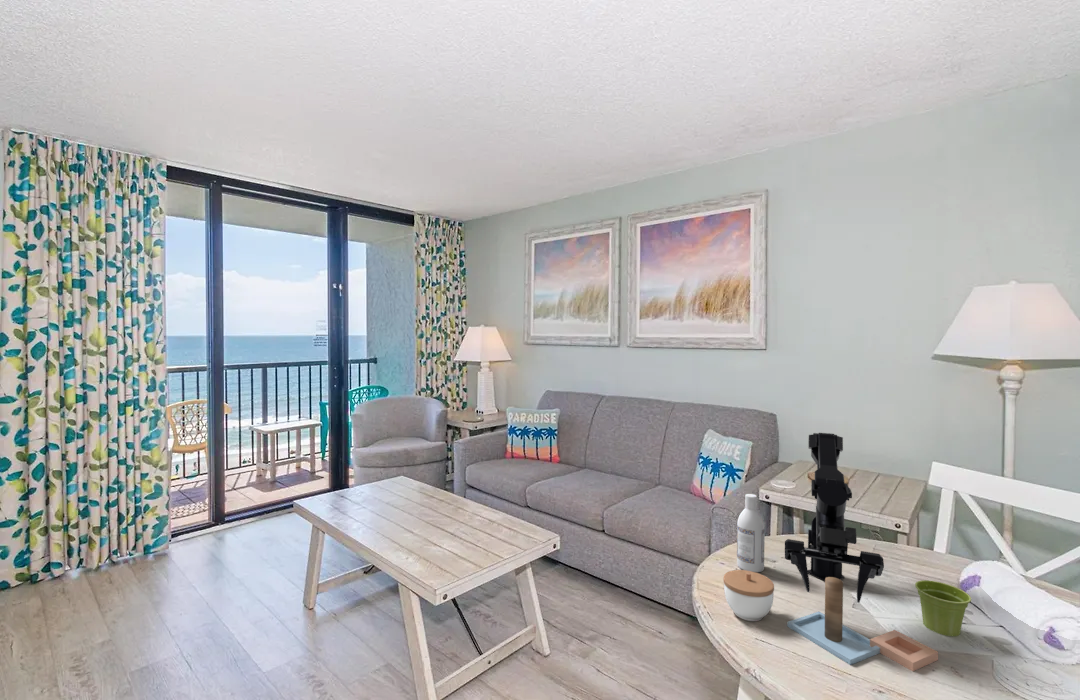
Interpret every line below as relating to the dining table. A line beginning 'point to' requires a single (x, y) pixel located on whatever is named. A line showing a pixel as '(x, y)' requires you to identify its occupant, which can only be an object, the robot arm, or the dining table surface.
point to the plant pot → (942, 606)
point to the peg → (833, 609)
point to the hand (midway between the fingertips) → (833, 596)
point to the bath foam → (750, 537)
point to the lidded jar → (748, 594)
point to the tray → (847, 650)
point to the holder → (904, 650)
